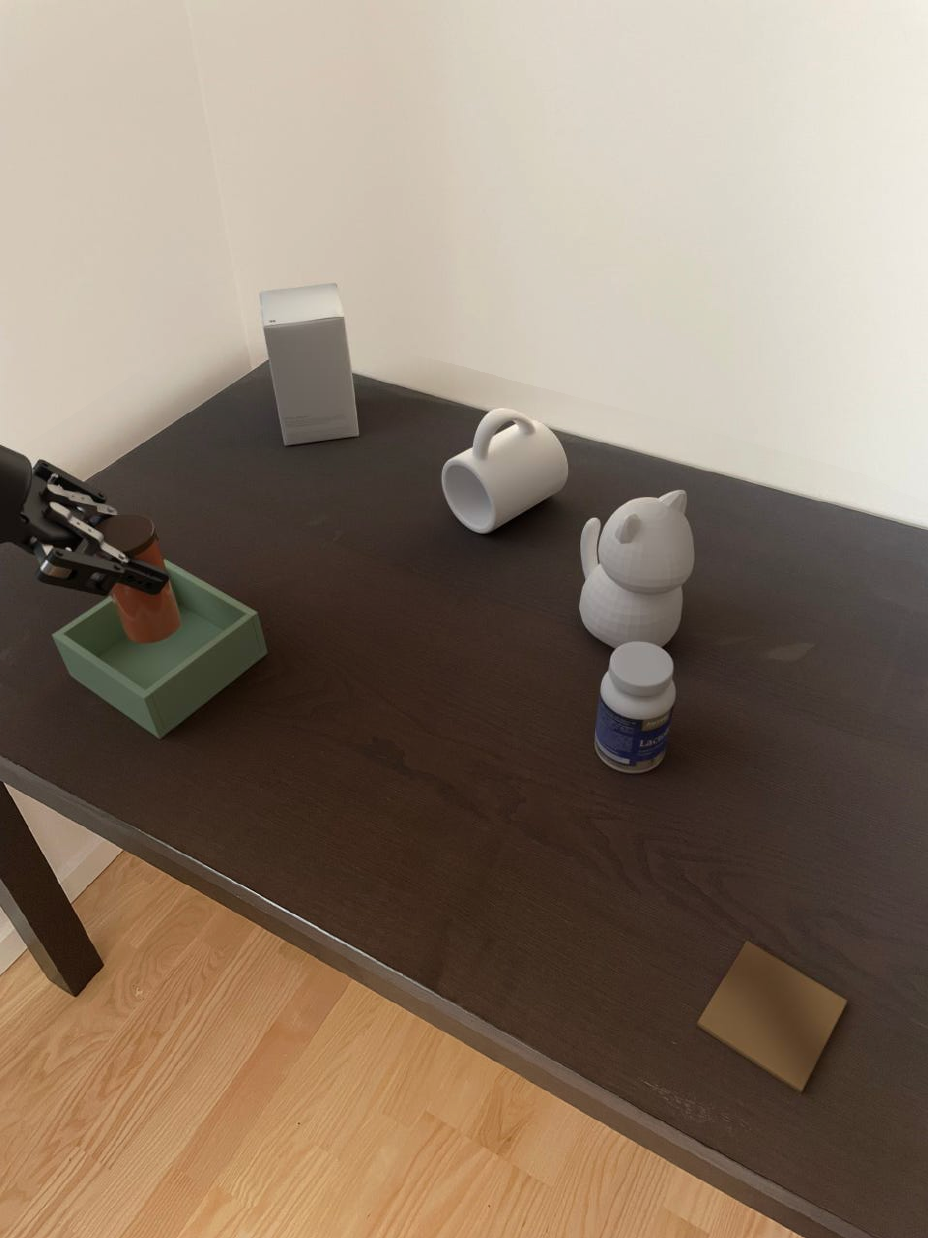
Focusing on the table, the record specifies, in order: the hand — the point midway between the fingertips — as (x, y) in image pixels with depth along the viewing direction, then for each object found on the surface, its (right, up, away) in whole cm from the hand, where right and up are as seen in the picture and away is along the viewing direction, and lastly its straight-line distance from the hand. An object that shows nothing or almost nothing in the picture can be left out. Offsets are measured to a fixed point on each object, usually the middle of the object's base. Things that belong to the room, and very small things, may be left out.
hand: (156, 563), depth 80 cm
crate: (-1, -9, +7) cm, 11 cm away
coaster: (+45, -30, -17) cm, 57 cm away
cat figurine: (+40, -5, +9) cm, 41 cm away
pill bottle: (+39, -15, -1) cm, 42 cm away
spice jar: (-1, -5, +4) cm, 6 cm away
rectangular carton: (+8, +19, +36) cm, 41 cm away
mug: (+30, +7, +23) cm, 38 cm away
